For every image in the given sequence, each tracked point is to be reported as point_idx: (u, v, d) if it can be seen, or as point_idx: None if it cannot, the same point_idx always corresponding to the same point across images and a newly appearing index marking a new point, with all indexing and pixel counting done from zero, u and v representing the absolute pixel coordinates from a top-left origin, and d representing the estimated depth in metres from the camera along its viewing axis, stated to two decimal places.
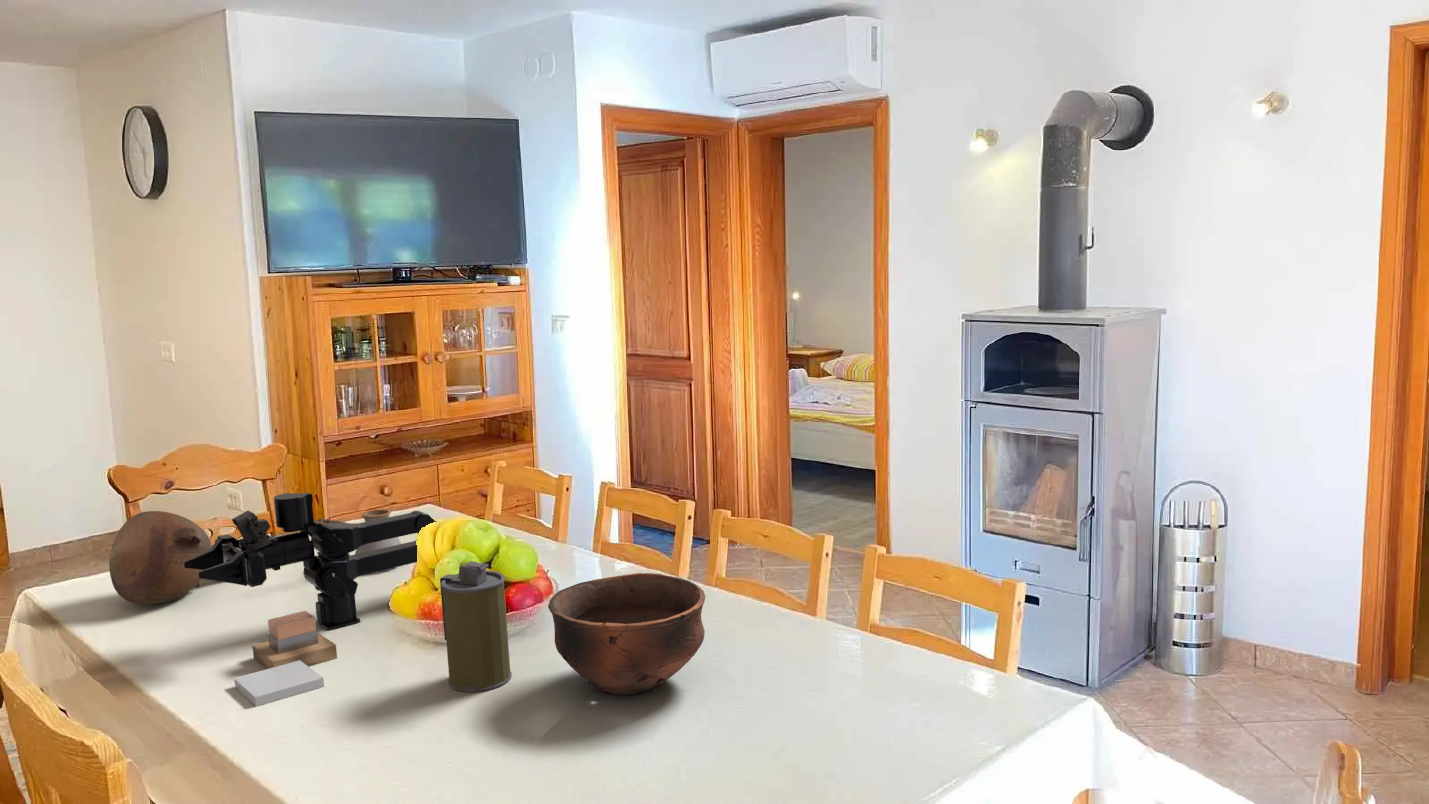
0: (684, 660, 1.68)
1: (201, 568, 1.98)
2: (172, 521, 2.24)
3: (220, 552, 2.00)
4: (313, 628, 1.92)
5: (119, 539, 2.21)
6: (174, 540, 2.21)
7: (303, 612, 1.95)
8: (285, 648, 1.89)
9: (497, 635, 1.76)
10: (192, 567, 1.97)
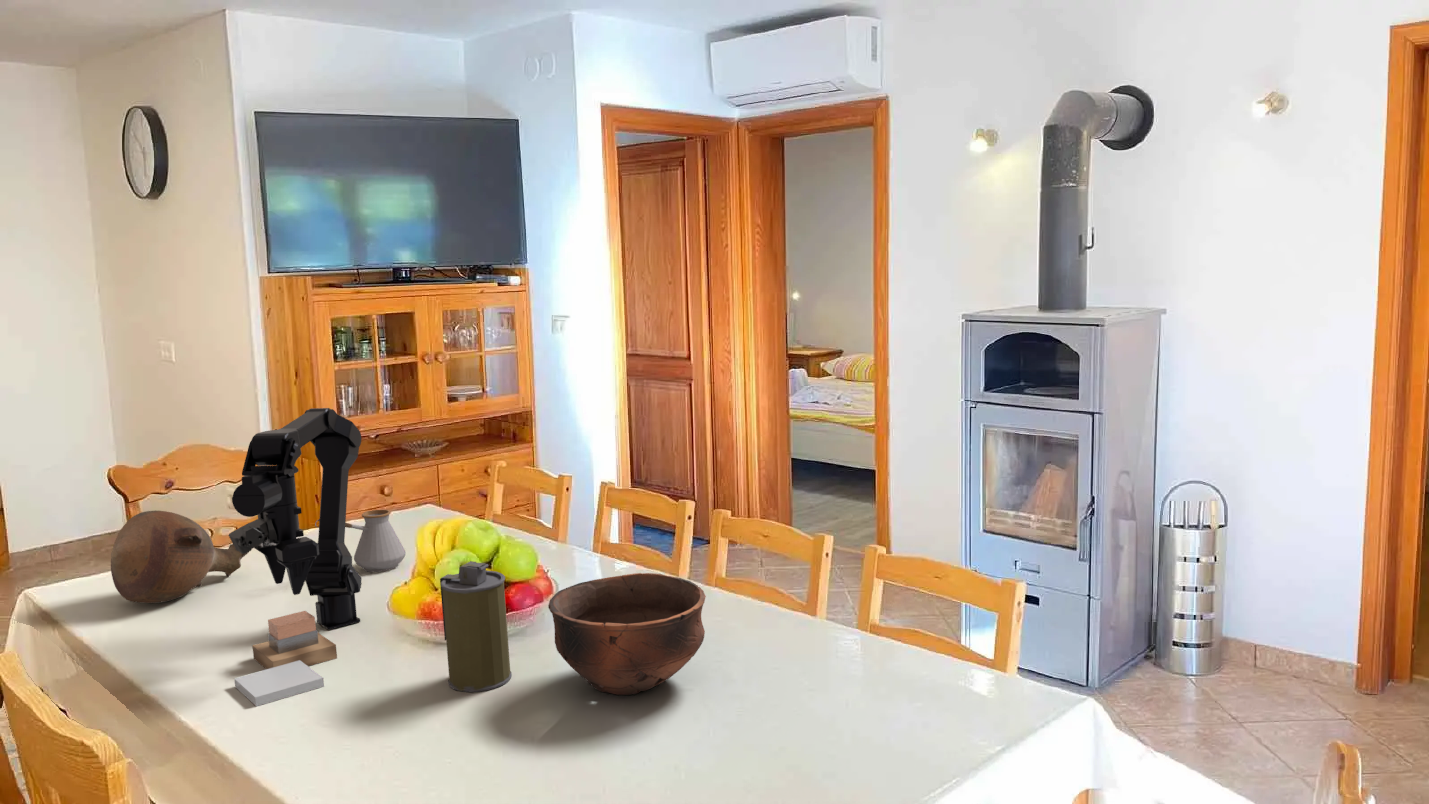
0: (684, 660, 1.68)
1: (284, 566, 1.95)
2: (174, 521, 2.25)
3: (270, 548, 1.93)
4: (313, 628, 1.92)
5: (120, 538, 2.22)
6: (175, 540, 2.21)
7: (303, 612, 1.95)
8: (285, 648, 1.89)
9: (497, 635, 1.76)
10: (282, 575, 1.95)
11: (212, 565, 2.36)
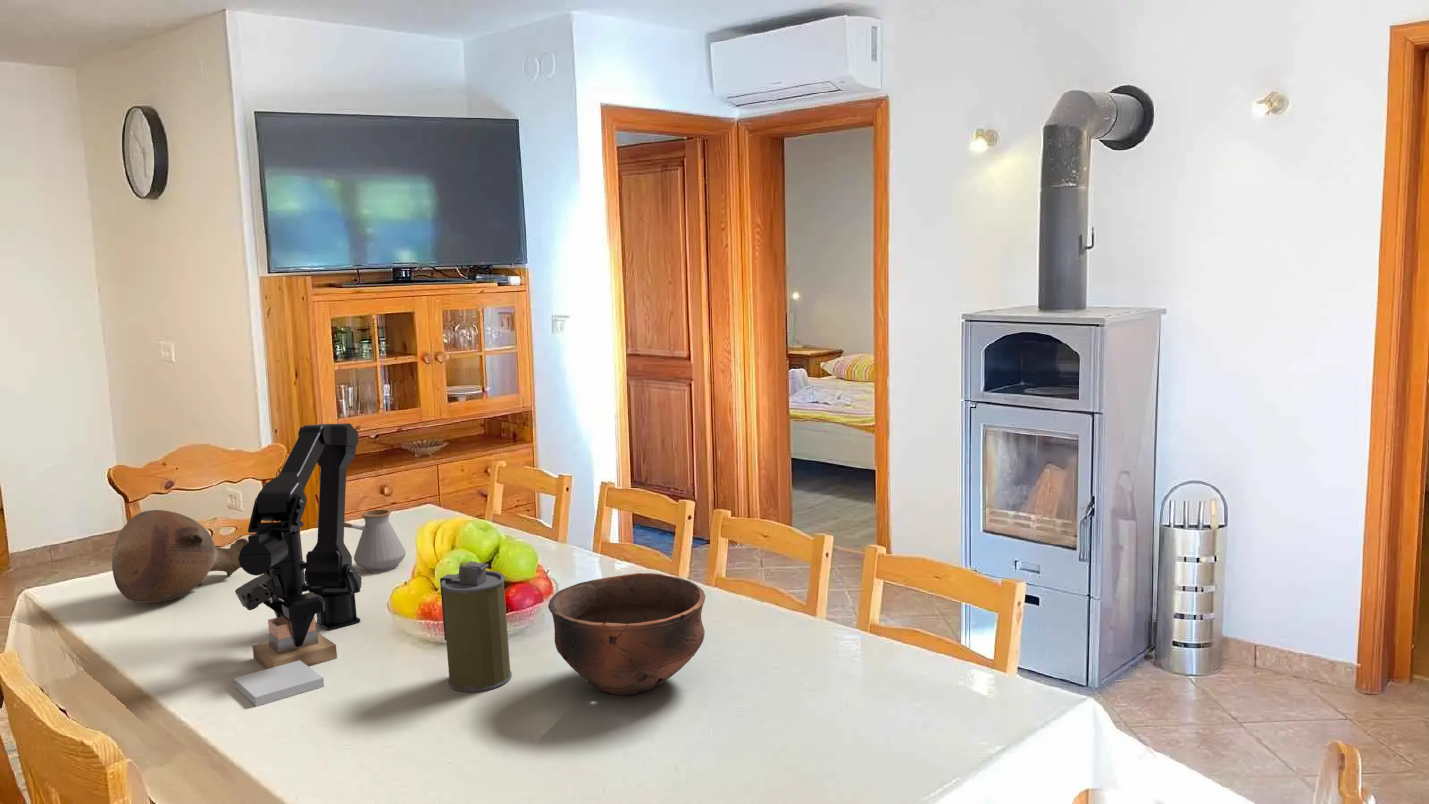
0: (684, 660, 1.68)
1: None
2: (175, 520, 2.25)
3: (279, 604, 1.93)
4: (313, 628, 1.92)
5: (122, 538, 2.22)
6: (176, 539, 2.22)
7: None
8: (285, 648, 1.89)
9: (497, 635, 1.76)
10: None
11: (213, 564, 2.36)
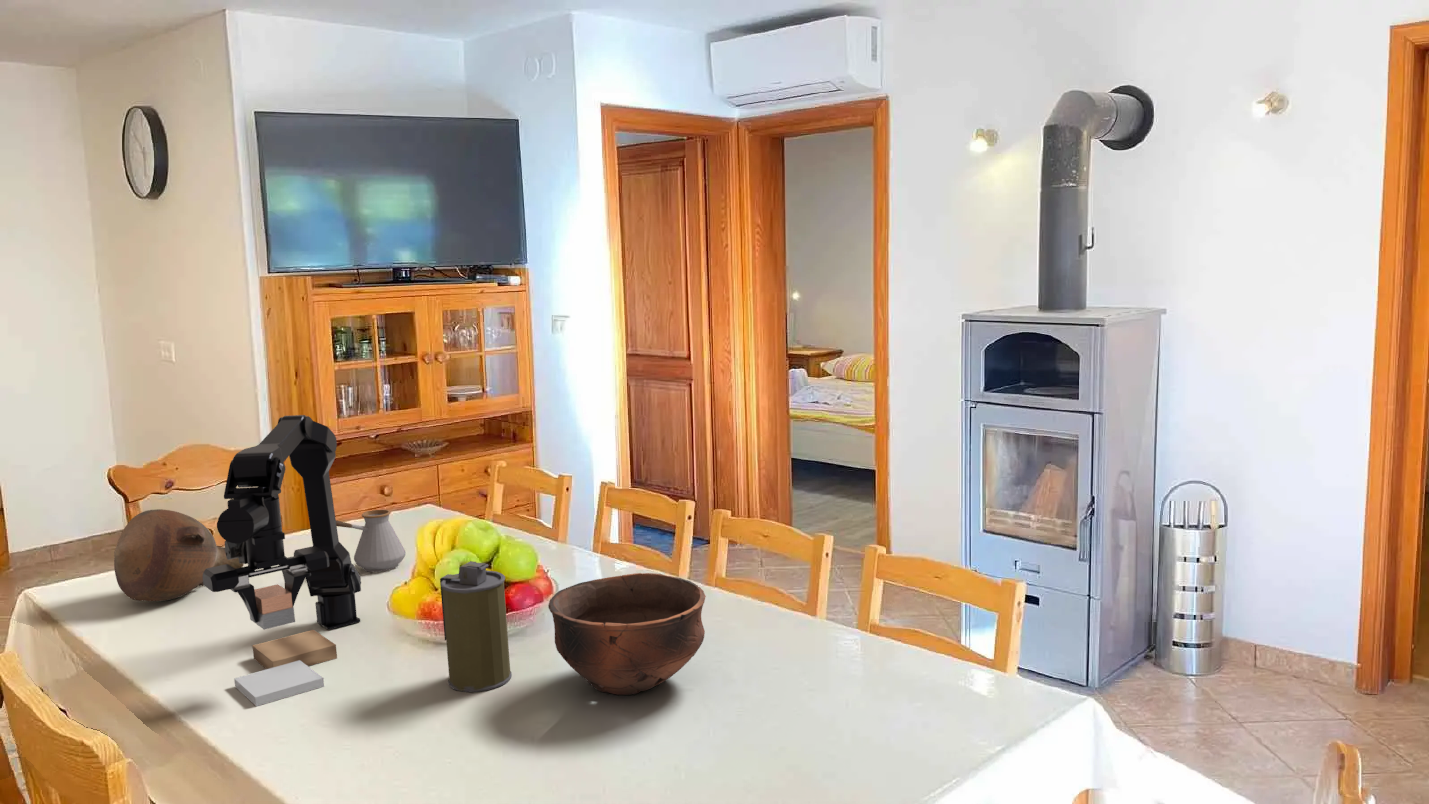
0: (684, 660, 1.68)
1: None
2: (176, 519, 2.25)
3: (286, 574, 1.80)
4: (261, 611, 1.75)
5: (123, 537, 2.23)
6: (178, 539, 2.22)
7: (284, 593, 1.77)
8: None
9: (497, 635, 1.76)
10: None
11: (215, 564, 2.37)
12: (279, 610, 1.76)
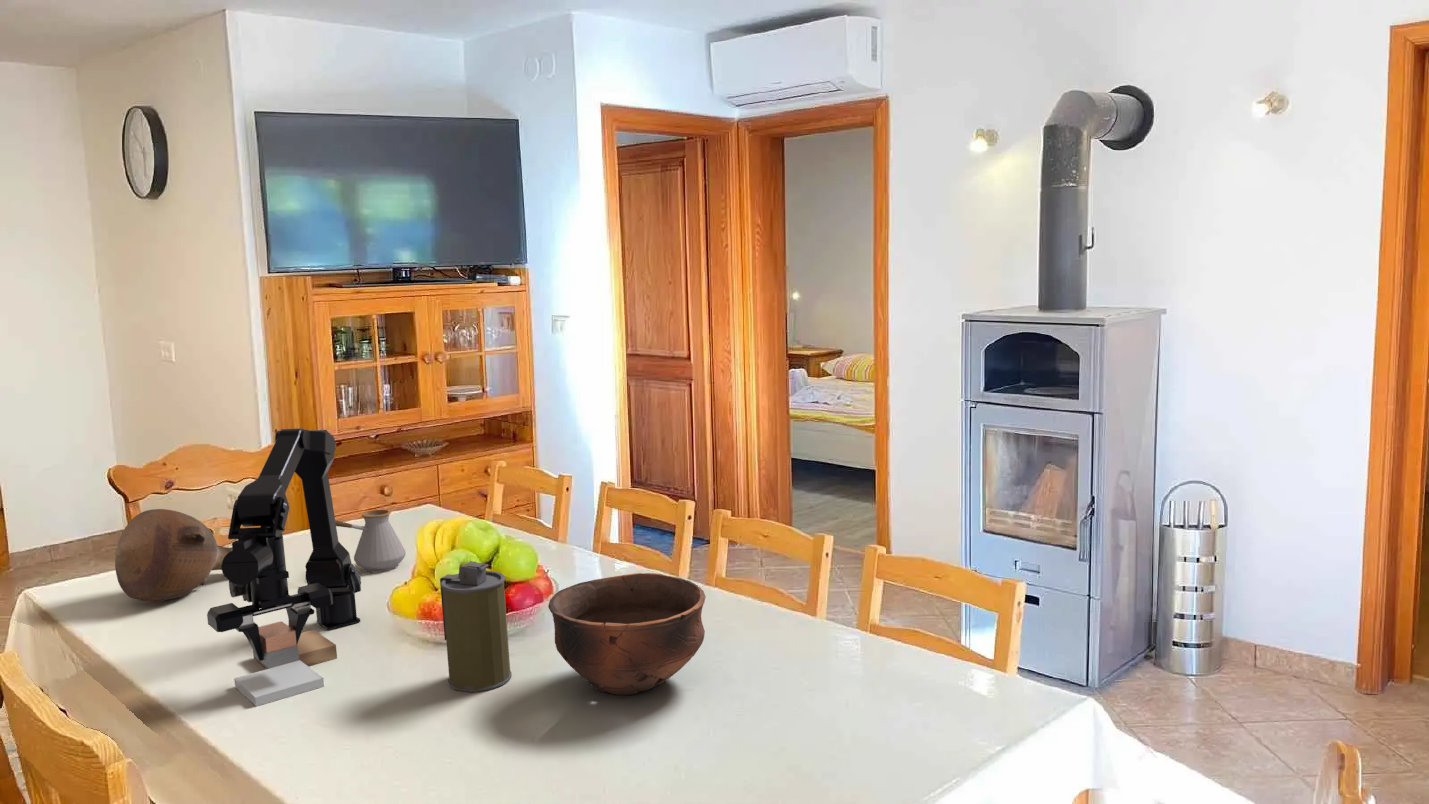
0: (684, 660, 1.68)
1: None
2: (177, 519, 2.26)
3: (290, 612, 1.81)
4: (265, 649, 1.76)
5: (124, 537, 2.23)
6: (178, 538, 2.23)
7: (288, 631, 1.78)
8: None
9: (497, 635, 1.76)
10: None
11: (216, 563, 2.37)
12: (283, 649, 1.77)
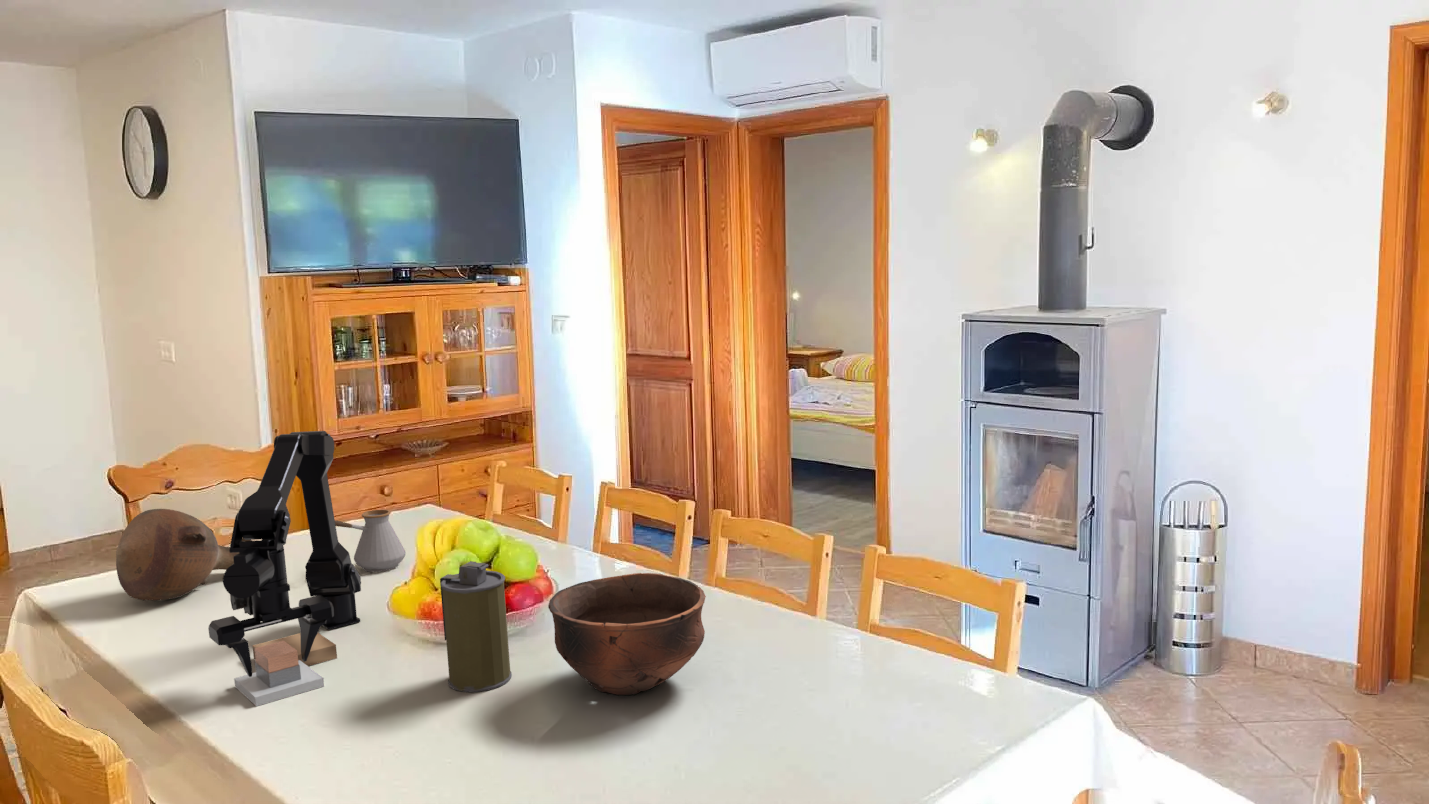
0: (684, 660, 1.68)
1: (305, 647, 1.81)
2: (178, 519, 2.26)
3: (301, 622, 1.83)
4: (268, 669, 1.76)
5: (125, 536, 2.23)
6: (179, 538, 2.23)
7: (290, 651, 1.78)
8: (258, 674, 1.80)
9: (497, 635, 1.76)
10: (303, 655, 1.82)
11: (217, 563, 2.37)
12: (285, 668, 1.77)
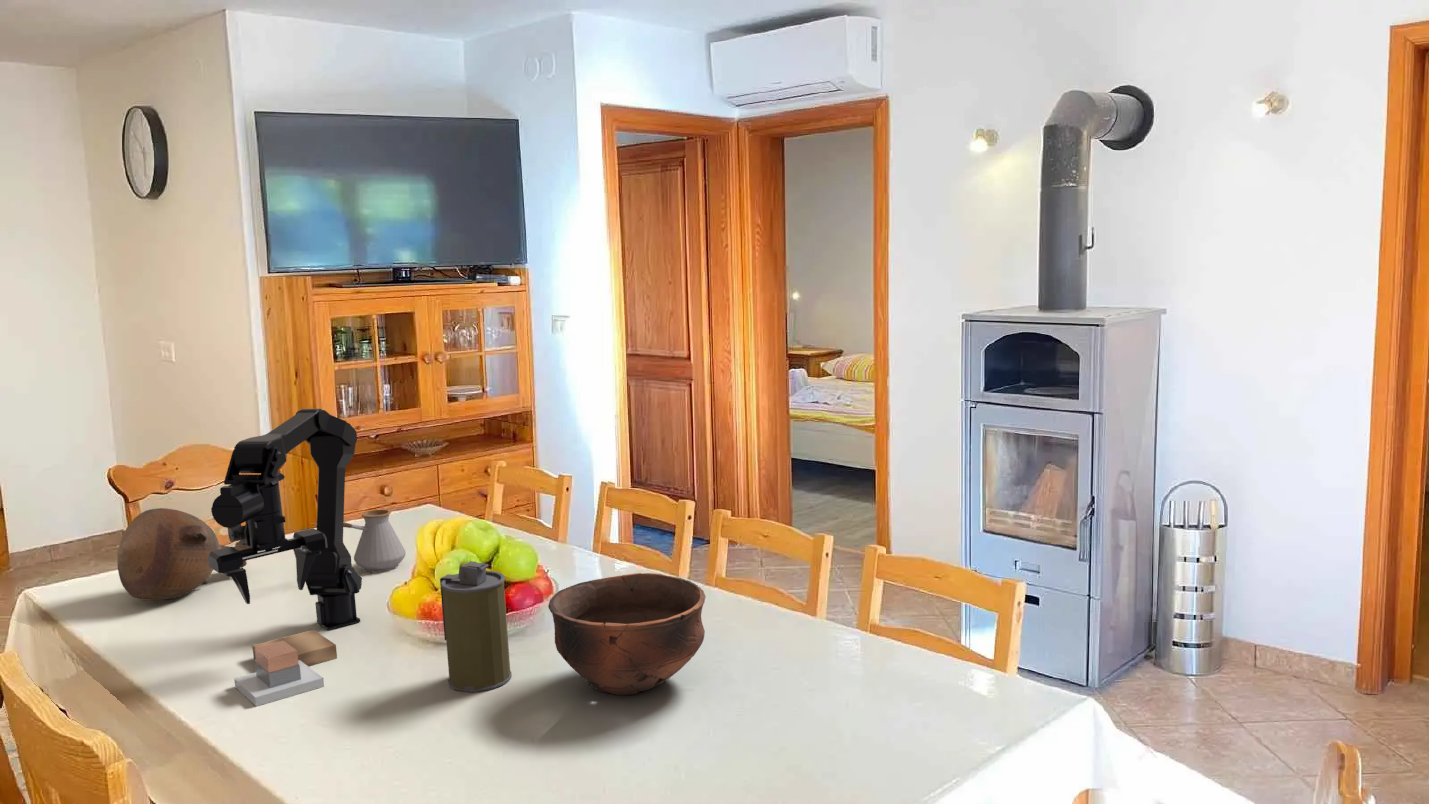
0: (684, 660, 1.68)
1: (301, 576, 1.91)
2: (179, 518, 2.26)
3: (297, 553, 1.92)
4: (268, 669, 1.76)
5: (126, 536, 2.24)
6: (180, 538, 2.23)
7: (290, 651, 1.78)
8: (258, 674, 1.80)
9: (497, 635, 1.76)
10: (300, 584, 1.92)
11: None
12: (285, 668, 1.77)
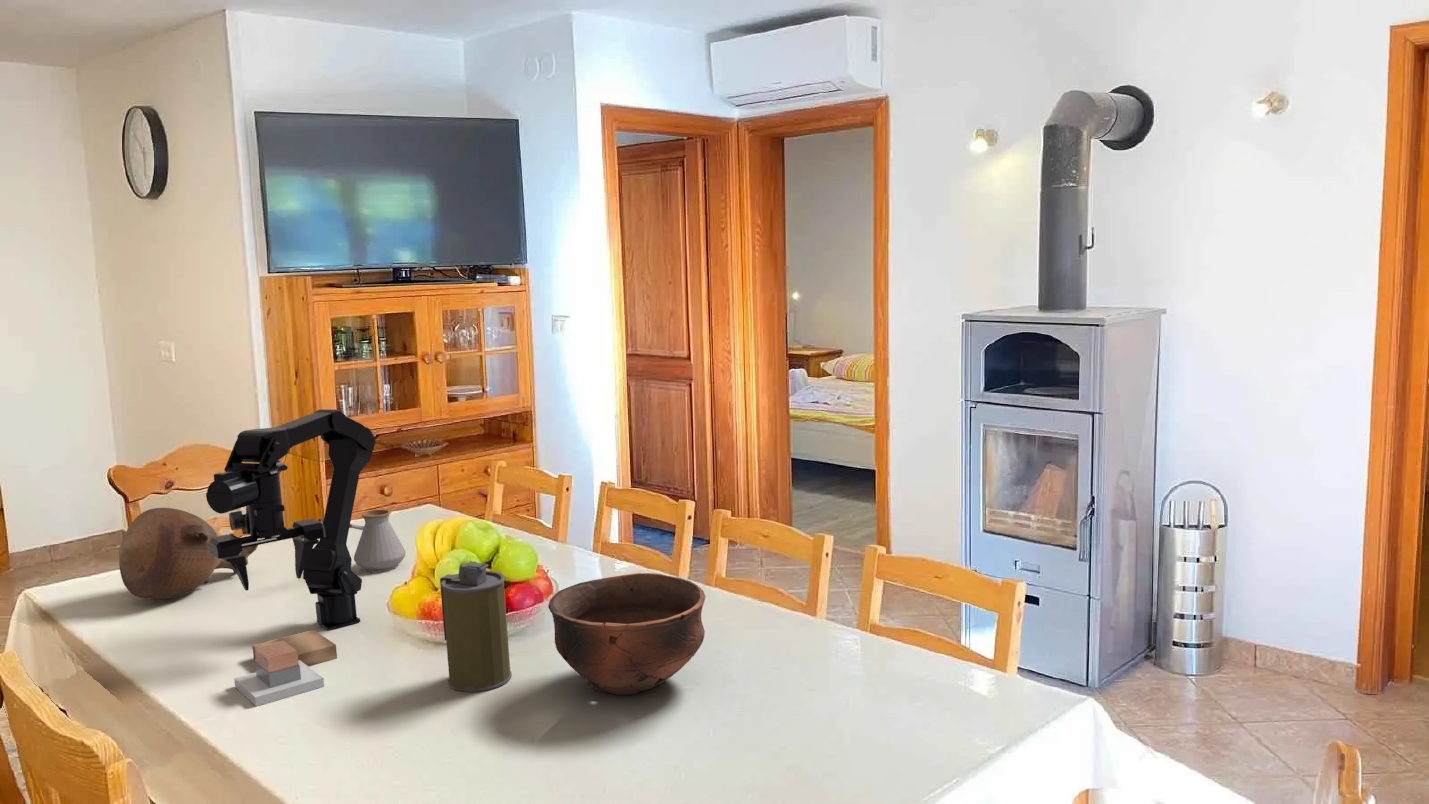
0: (684, 660, 1.68)
1: (299, 564, 1.96)
2: (180, 518, 2.27)
3: (296, 542, 1.97)
4: (268, 669, 1.76)
5: (128, 535, 2.24)
6: (182, 537, 2.24)
7: (290, 651, 1.78)
8: (258, 674, 1.80)
9: (497, 635, 1.76)
10: (298, 572, 1.96)
11: (219, 562, 2.38)
12: (285, 668, 1.77)
